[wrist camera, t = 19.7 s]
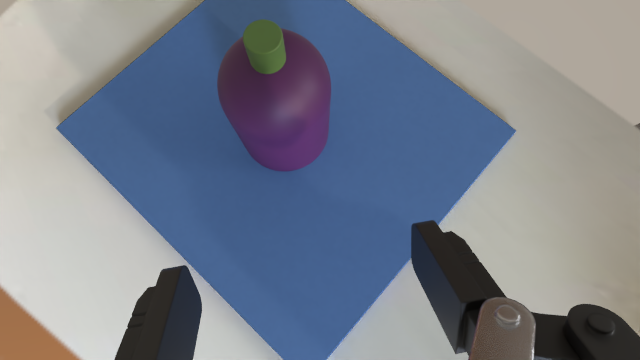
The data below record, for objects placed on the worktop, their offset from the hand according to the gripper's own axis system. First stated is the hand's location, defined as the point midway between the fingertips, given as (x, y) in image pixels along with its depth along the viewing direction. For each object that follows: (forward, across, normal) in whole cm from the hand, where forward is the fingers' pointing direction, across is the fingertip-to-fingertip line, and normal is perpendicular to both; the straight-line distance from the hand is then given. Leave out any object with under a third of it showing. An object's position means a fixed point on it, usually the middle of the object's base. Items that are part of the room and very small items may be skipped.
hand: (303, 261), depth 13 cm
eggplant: (+10, 0, -1) cm, 10 cm away
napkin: (+10, 0, -1) cm, 10 cm away
